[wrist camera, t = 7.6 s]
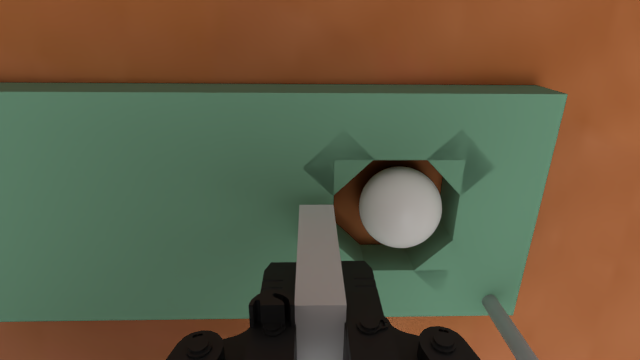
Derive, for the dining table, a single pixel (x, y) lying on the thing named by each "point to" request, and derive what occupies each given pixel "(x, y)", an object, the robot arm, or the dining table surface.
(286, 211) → the mini golf green
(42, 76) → the dining table surface
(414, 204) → the ball
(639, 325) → the dining table surface
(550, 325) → the dining table surface
